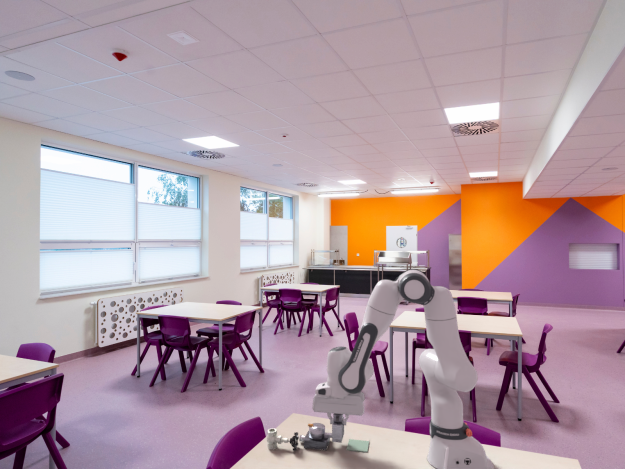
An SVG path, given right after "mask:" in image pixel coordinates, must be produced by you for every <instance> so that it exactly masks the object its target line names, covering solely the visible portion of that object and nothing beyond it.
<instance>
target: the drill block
mask: <svg viewBox="0 0 625 469" xmlns="http://www.w3.org/2000/svg"><path fill="white" fill-rule="evenodd" d="M298 442H302V443H303V449H310V450H315V451H316V450H318V451H319V450H320V451H327V449H328V447H329V444H330V442H331V438H328V437H324V438H323V439H320V440H314V439H311V438H310V437H309V430H308V431H307V433H306V435H303V434H302V435H301V434H300V435H299V439H298Z"/></svg>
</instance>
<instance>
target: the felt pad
mask: <svg viewBox="0 0 625 469" xmlns="http://www.w3.org/2000/svg"><path fill="white" fill-rule="evenodd" d="M369 445H370V440H362V439H353V438H352V439H351V438H349V439H348V442H347V446H346V451H351V452H358V453H359V452H360V453H368V451H369V447H370V446H369Z"/></svg>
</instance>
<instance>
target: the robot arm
mask: <svg viewBox="0 0 625 469" xmlns="http://www.w3.org/2000/svg"><path fill="white" fill-rule="evenodd" d="M404 300H405V301H407V302H409V303H412V304H415V305H420V306H421V305H422V306H423V310H424V320H425V321H424V322H425V329H426V337H427V340H428V342H429V343H430V344H431V346H432V348H427V349H424V350H423V351H422V352H421V353H420V355H419V357H418V365H419V368H420V369H421V371H422V373H423V375H424V377H425V381H426V384H427V388H428V392H429V398H430V411H431V412H430V413H431V416H430V420H429V435H430V443H429V449H428V453H427V456H426V460H427V461H428V463H429V464H430V465H431V466H432V467H434V468H435V469H495V467H494V464H493V461H492V460H491V458H490V457H489V456H487V454H486V450H485V448H484V446H483V444H481V442H480V441H479V440H477V439H476V438H475V437H474V436H473V431H472V430H471V429H470V426H469V425H468V423H467V422H465V421H464V404H463V400H462V398H461V397H460V395H459V393H458V392H462V393H468V392H471V391H472V390H473V389H474V388H475V386H477V383H478V378H479V375H478V371H477V369H476V368H475V367H474V365H473V364H472V362H471V361H470V359H469V358H468V356H467V353H466V352H465V349H464V347H463V344H462V342H461V338H460V334H459V332H460V330H459V326H458V317H457V311H456V306H455V301H454V297H453V294H452V292H451V291H450V289H448V288H447V287H445V286H442V285H440V286H439V285H438V286H437V285H436V286H434V285H432V284H431V283H430V280H429V279H428V277H427V275H426V274H425V273H424V272H423V271H421V270H419V269H417V268H409V269H407V270H404V271H403V272H402V273H401V274H399V276H397V277H396V278H395V279H394V280H391V279H381V280H379V281H378V282H377V283H376V284H375V286H374V288H372V291H371V294H370V296H369V298H368V301H367V304H366V305H365V306H366V307H365V311H364V314H363V317H362V322H361V326H360V330H359V333H358V337H357V339H356V342H355V344H354V347H353V349H352V351H351V350H350V349H349V348H348V347H346V346H336V347H333V348H331V349H330V350H329V351H328V353H327V356H326V357H327V358H326V371H327V378H326V382H321V383H319V384H317V385H316V387H315V391H314V392H315V394H314V395H313V398H312V408H311V409H312V411H313V412H314V413H323V414H326V415H327V418H328V419H329V424H330V425H332V423H333V417H332V414H343V415H344V419H343V421H342V425H344V426H347V421H348V419H349V418H350V416H363V415H364V414H365V403H364V402H365V401H366V400H365V399H366V397H365V396H366V395H365V394H366V393H364V391H363V389H364V387H365V386H366V385H367V383H368V382H369V380H370V379H371V378H372V376H373V375H374V372H375V371H374V365H373V362H372V361H370V356H371V355H372V351H373V349H374V347H375V345H376V344H377V342H378V341H379V340H380V338H381V337H382V336H383V335H384V334H385V333H386V332H387V331H388V330H389V328H390V327H391V324H392V323H393V321H394V318H395V316H396V313H397V310H398V307H399V305H400V303H401V302H403V301H404Z"/></svg>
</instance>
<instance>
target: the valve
mask: <svg viewBox="0 0 625 469" xmlns="http://www.w3.org/2000/svg"><path fill="white" fill-rule="evenodd" d="M299 437H300V435H299V431H297V432H294V433H293V436H291V437H290V439H289V438H288V437H283V436H282V435H278V430H277V428H272V427H271V428H268V429H267V436H266V442H267V448H268V450H275V449H278V445H281V444H282V443H285V444H288V443H289V444H290V445H291V447H292V451H294V452H296V451H297V450H298V446H299Z"/></svg>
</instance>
